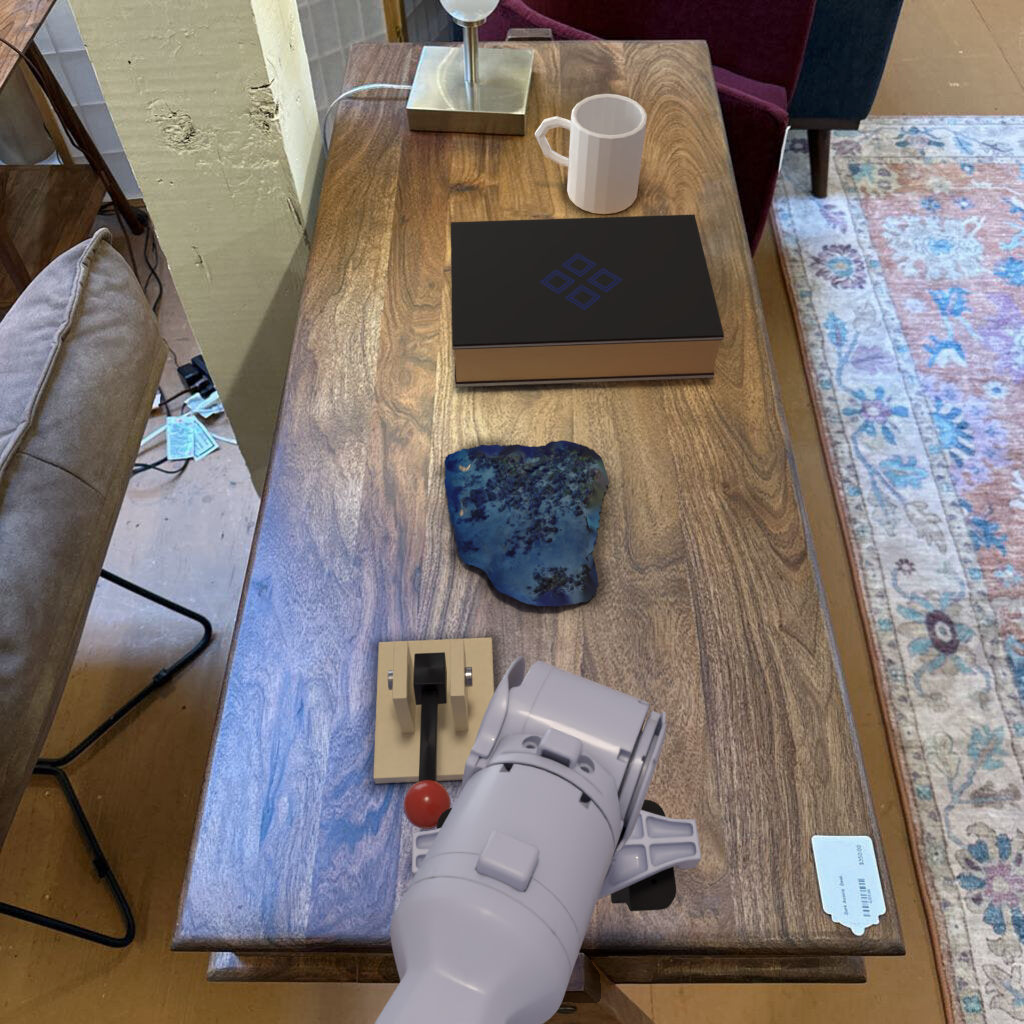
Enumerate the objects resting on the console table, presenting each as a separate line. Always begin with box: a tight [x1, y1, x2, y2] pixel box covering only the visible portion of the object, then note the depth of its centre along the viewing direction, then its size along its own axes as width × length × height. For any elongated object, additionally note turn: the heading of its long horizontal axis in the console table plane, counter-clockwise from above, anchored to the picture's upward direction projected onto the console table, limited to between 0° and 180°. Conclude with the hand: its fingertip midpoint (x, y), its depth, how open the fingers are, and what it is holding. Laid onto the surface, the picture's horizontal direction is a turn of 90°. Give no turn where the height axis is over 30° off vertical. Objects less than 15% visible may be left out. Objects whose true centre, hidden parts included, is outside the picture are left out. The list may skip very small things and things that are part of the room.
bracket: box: [372, 637, 495, 785], centre depth 68 cm, size 11×9×8 cm
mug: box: [534, 93, 648, 215], centre depth 103 cm, size 8×12×10 cm
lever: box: [402, 652, 452, 830], centre depth 63 cm, size 13×3×3 cm, turn 3°
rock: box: [443, 439, 610, 608], centre depth 80 cm, size 15×17×2 cm
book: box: [450, 214, 725, 389], centre depth 92 cm, size 17×25×7 cm
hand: (550, 887), depth 54 cm, fingers open, 7 cm apart
